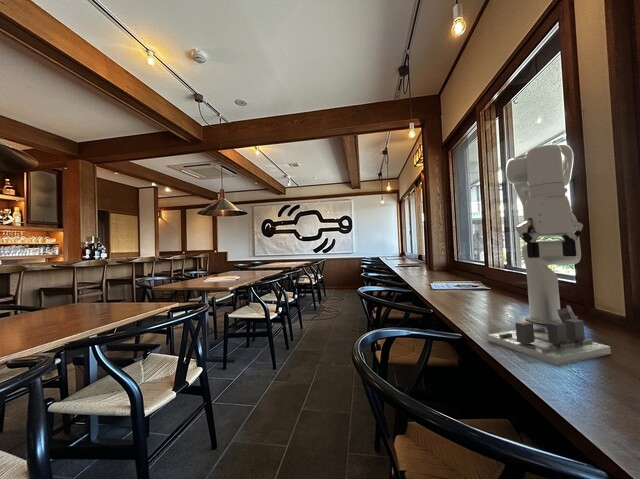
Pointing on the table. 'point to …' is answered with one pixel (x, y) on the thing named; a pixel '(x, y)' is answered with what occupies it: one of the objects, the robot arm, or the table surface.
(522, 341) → the orange striped slider handle
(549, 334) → the handle middle
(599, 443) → the table surface
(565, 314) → the electrical switch
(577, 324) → the handle near
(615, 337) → the table surface
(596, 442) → the table surface
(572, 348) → the panel
